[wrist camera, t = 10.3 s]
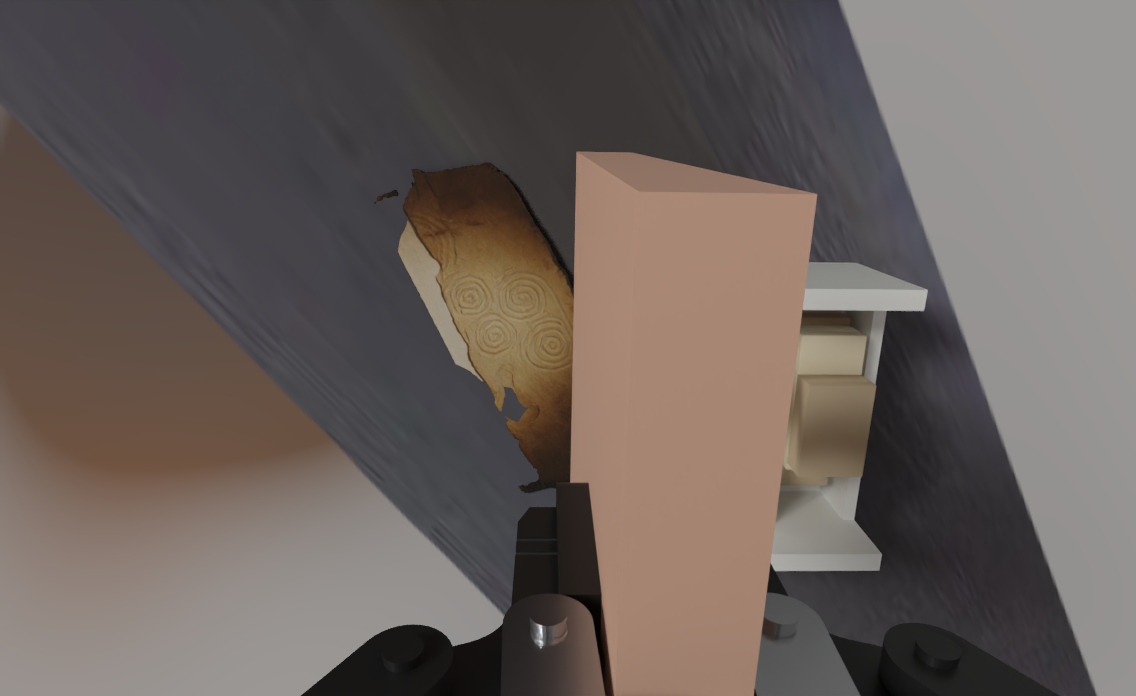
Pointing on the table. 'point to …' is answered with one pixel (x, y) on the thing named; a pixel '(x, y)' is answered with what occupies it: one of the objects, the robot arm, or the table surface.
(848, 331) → the offcut mid
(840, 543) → the rack
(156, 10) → the table surface
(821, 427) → the offcut small
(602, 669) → the board
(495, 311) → the parchment
